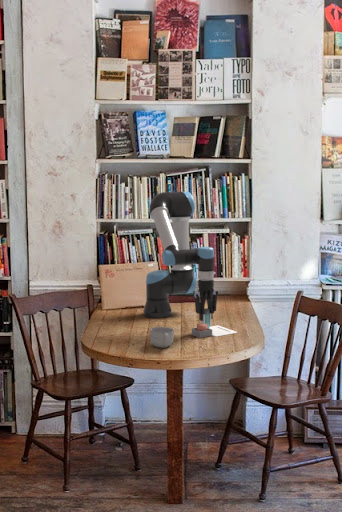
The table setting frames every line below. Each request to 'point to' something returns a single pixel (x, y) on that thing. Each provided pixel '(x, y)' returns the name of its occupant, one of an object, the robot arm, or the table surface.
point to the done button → (201, 327)
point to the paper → (221, 331)
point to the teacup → (161, 336)
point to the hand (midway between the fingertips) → (205, 326)
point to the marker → (206, 316)
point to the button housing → (201, 333)
